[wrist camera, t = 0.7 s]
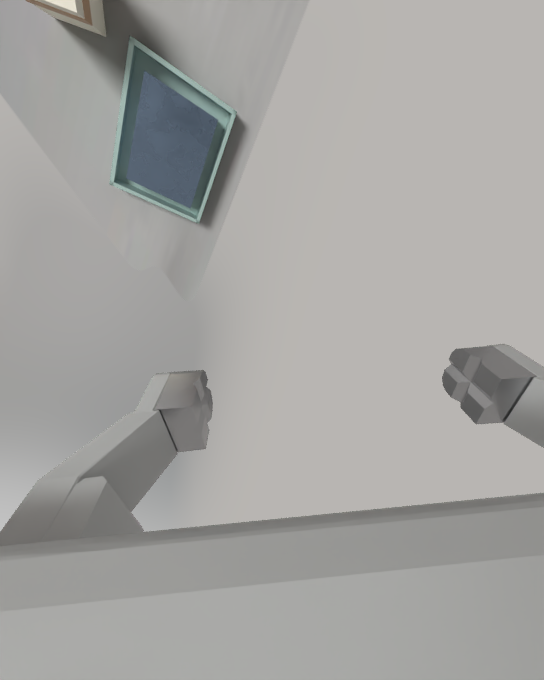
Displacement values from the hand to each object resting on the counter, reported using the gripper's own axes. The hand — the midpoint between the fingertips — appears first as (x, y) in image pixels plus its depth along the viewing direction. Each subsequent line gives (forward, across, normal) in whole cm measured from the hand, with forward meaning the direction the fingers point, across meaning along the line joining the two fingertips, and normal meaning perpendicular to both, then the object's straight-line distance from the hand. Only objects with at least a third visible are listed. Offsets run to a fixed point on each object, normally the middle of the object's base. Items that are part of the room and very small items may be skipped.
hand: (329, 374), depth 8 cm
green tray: (+41, +14, -11) cm, 45 cm away
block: (+41, +13, -10) cm, 44 cm away
